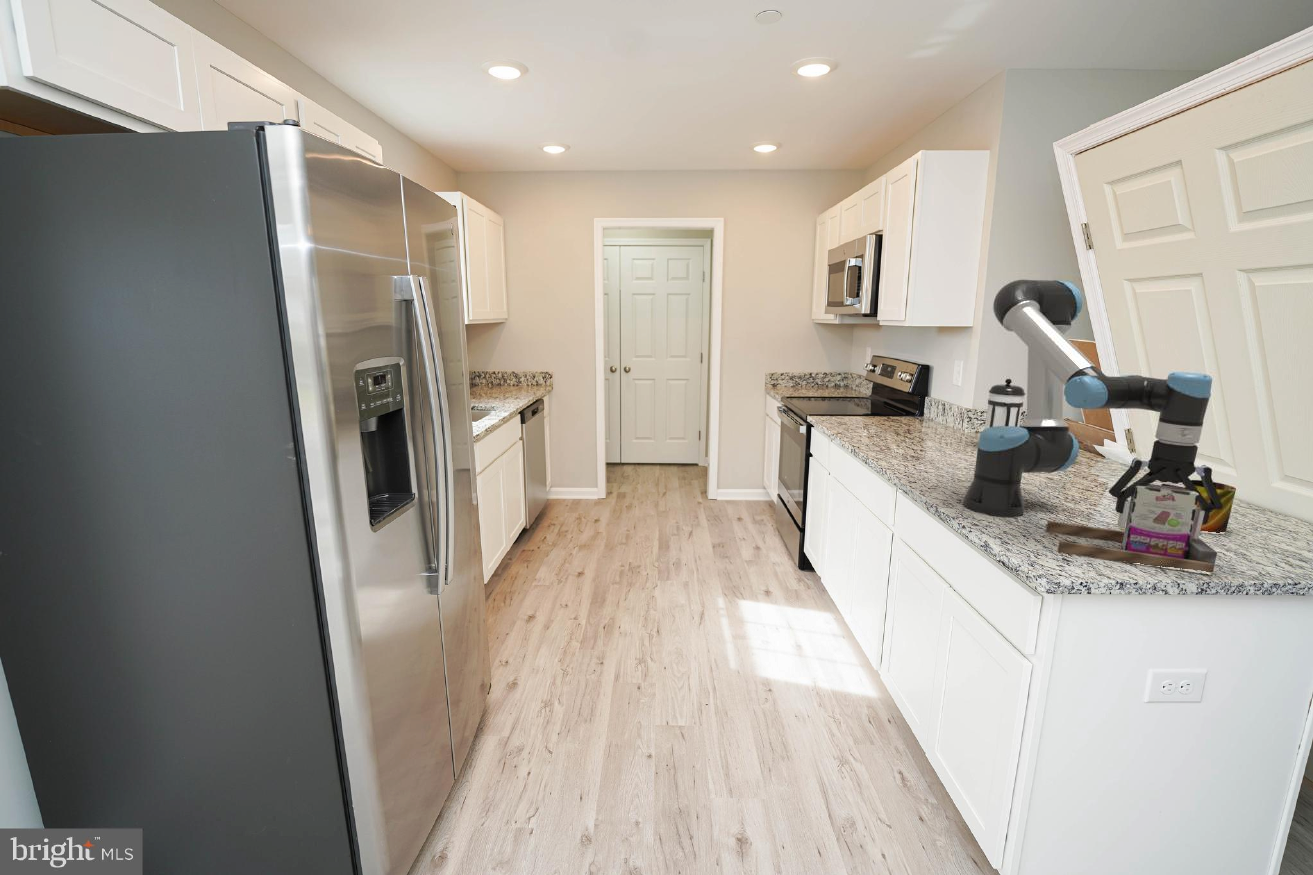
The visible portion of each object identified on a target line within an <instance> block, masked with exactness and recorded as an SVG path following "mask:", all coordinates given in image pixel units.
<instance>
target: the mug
mask: <svg viewBox="0 0 1313 875" xmlns="http://www.w3.org/2000/svg"><path fill="white" fill-rule="evenodd" d="M1190 480H1191V481H1192V483H1193V485H1194V486H1195V487H1196V488H1197V490H1198V491H1199V492H1200V493H1201V495H1202V496H1203V497H1204V499H1205V500H1206V501H1207V502H1208V503H1211V502H1210V500H1209V497H1208V495H1207V492H1206V490H1205V487H1204V485H1203V482H1202V480H1201V479H1190ZM1213 483H1214V485H1215V488H1216V490H1217V493H1218V495H1219V498H1220V500H1221V503H1222V505H1223V508H1222V509H1221V510H1218V509H1216V510H1213V511H1212V512H1210V514H1209V519H1208V523H1207V524H1202V526H1201V530H1200V531H1208V532H1216V533H1220V532H1225V531H1226V532H1227V528H1228V525H1229V522H1230V521H1229V520H1230V516H1231V512H1232V508H1233V504H1234V499H1235V494H1236V490H1237V488H1236V487H1234V486H1232V485H1229V484H1225V483H1222V482H1215V481H1213ZM1161 485H1162V486H1171V487H1179V488H1186V487H1185V486H1178V485H1174V484H1167V483H1161ZM1196 507H1197V508H1201V506H1200V505H1199V504H1198V502H1197V506H1196Z"/></svg>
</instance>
